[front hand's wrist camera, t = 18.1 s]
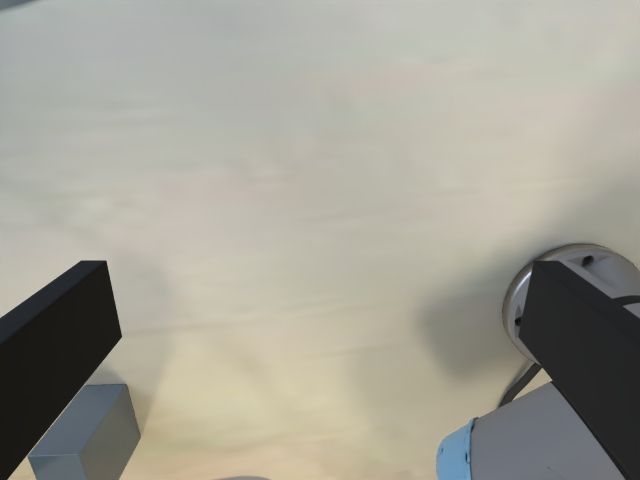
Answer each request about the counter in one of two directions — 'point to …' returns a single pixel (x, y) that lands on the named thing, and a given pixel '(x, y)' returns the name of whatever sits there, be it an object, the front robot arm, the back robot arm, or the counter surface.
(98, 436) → the brick
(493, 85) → the counter surface
